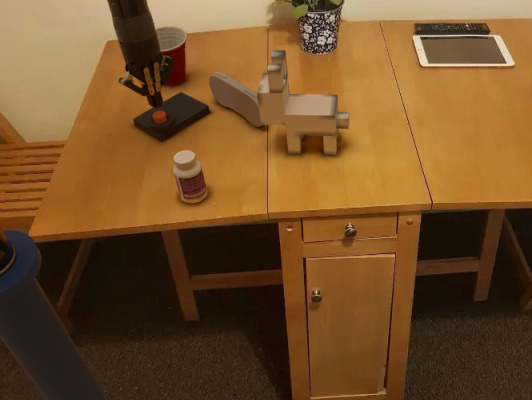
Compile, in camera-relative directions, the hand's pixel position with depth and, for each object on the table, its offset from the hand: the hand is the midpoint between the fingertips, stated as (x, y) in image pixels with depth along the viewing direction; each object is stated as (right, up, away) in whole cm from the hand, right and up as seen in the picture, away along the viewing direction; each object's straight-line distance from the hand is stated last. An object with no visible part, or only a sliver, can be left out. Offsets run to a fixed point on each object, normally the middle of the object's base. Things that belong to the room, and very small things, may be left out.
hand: (156, 106), depth 125 cm
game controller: (+17, 0, +9) cm, 19 cm away
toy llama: (+33, -8, -1) cm, 34 cm away
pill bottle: (+10, -19, -11) cm, 25 cm away
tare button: (0, -3, +2) cm, 4 cm away
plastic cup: (-1, +10, +21) cm, 23 cm away
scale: (+1, -2, +8) cm, 9 cm away
